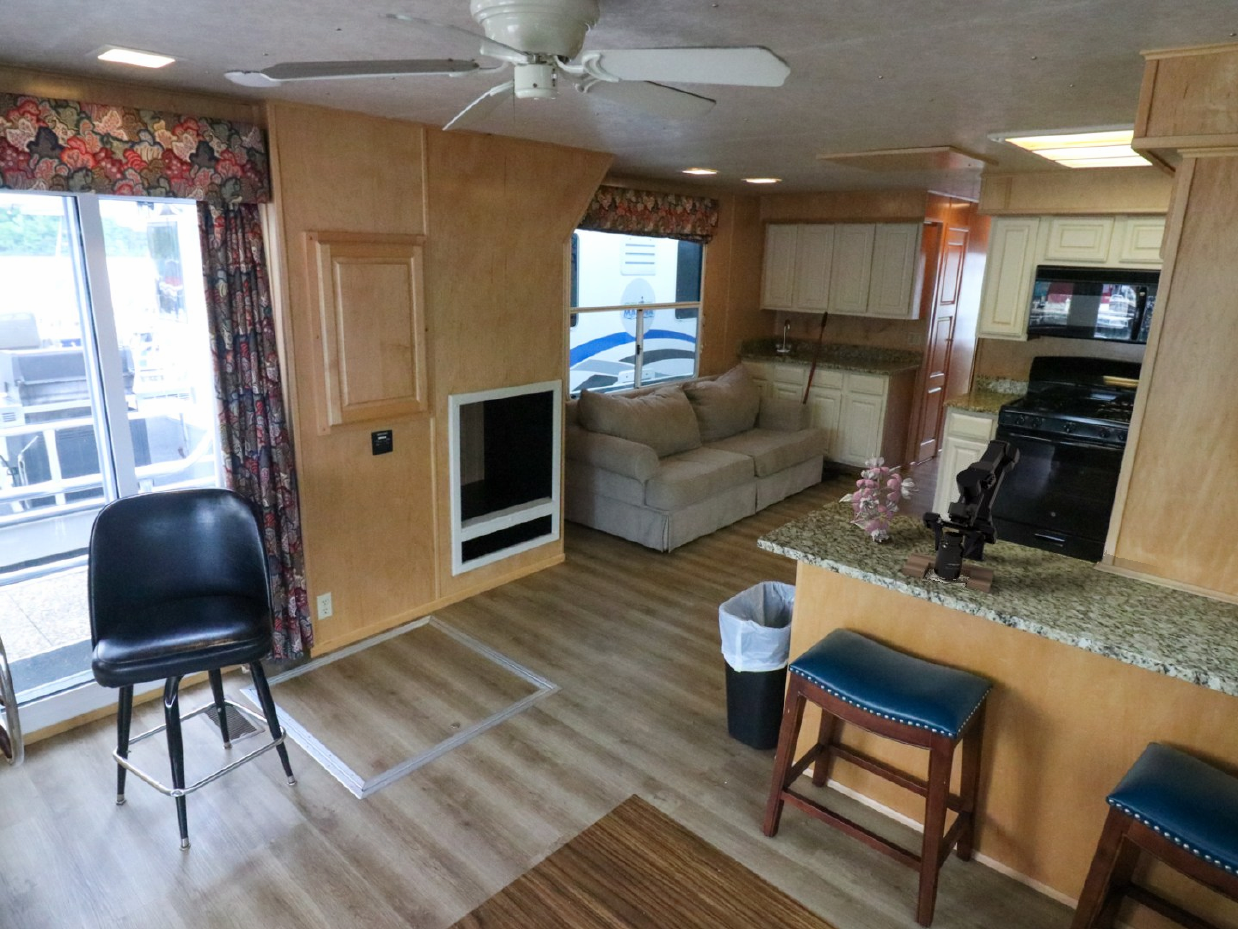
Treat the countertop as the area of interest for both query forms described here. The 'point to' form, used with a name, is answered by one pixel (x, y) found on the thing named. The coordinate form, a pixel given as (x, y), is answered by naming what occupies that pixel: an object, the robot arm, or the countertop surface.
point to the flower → (868, 499)
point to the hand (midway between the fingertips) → (949, 553)
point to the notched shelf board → (977, 579)
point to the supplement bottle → (949, 556)
